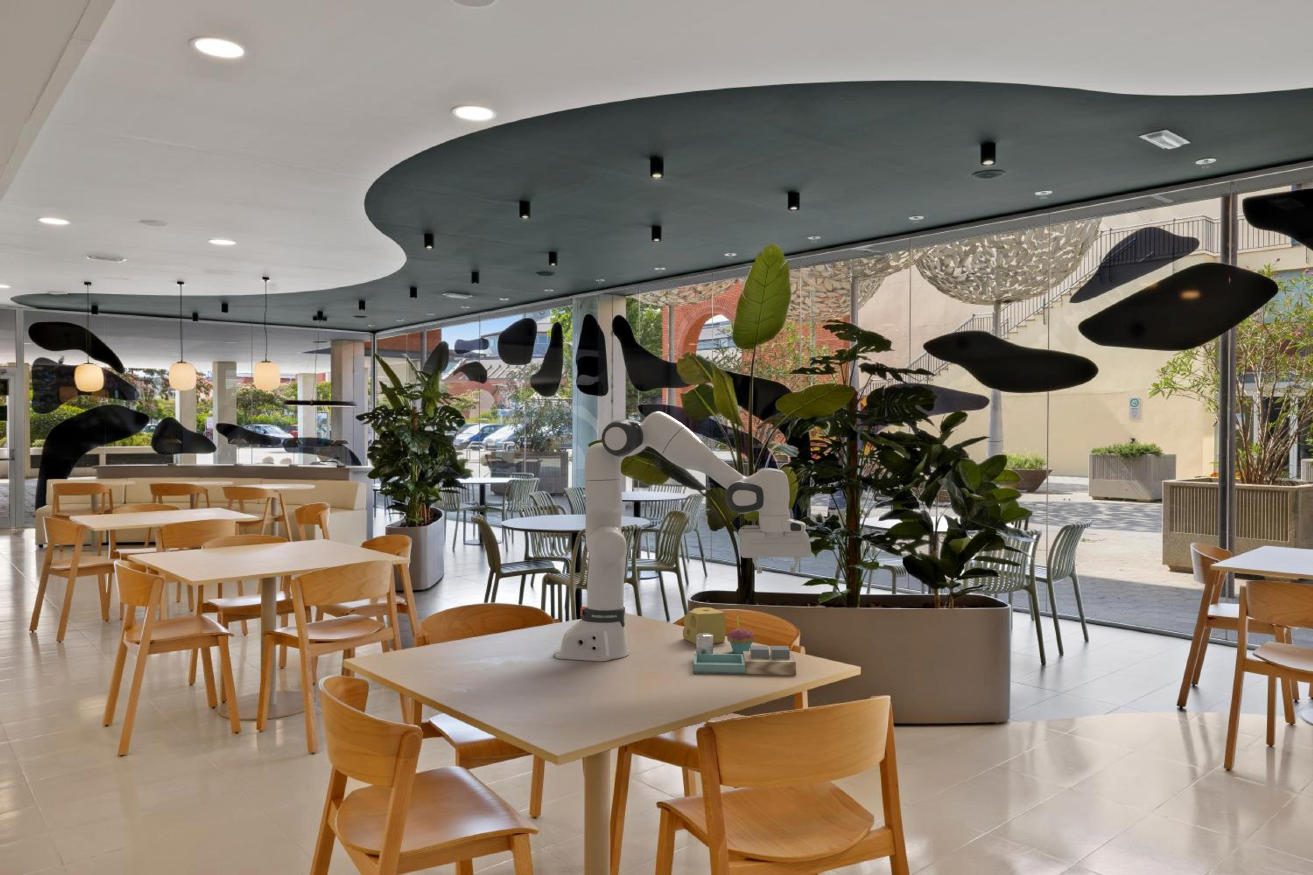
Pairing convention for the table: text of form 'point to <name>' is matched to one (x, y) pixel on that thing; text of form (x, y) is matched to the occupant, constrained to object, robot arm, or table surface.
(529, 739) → the table surface
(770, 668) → the board
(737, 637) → the cupcake
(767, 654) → the tile
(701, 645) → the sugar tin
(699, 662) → the tray
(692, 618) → the cheese
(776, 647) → the tile
